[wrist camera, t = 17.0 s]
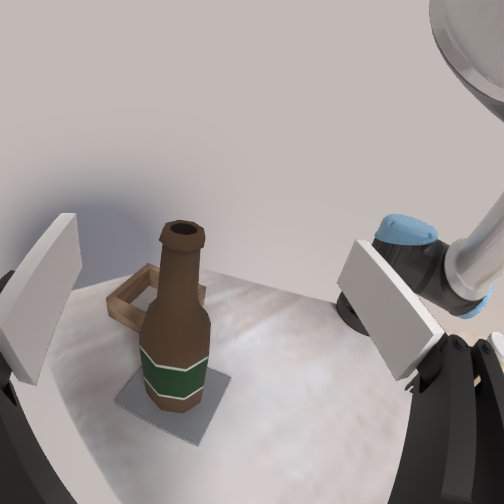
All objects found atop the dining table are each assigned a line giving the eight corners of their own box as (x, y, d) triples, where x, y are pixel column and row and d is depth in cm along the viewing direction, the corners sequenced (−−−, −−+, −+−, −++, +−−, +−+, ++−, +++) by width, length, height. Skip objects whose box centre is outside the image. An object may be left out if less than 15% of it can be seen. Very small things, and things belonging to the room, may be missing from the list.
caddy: (203, 303, 50) (206, 286, 48) (170, 348, 39) (170, 331, 38) (148, 279, 52) (148, 263, 50) (108, 315, 41) (106, 298, 39)
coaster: (230, 379, 37) (231, 377, 37) (197, 446, 27) (198, 445, 27) (158, 347, 39) (158, 344, 39) (115, 403, 29) (114, 401, 28)
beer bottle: (164, 359, 37) (170, 200, 25) (212, 383, 35) (247, 225, 24) (135, 397, 30) (112, 229, 18) (187, 425, 29) (204, 268, 17)
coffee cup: (483, 377, 42) (513, 341, 36) (484, 404, 35) (520, 366, 29) (458, 363, 46) (488, 325, 40) (457, 390, 39) (493, 350, 33)
